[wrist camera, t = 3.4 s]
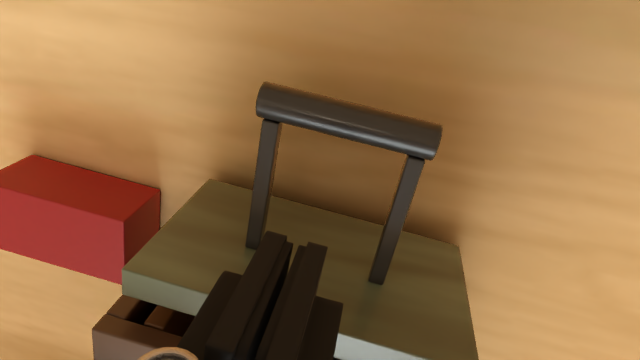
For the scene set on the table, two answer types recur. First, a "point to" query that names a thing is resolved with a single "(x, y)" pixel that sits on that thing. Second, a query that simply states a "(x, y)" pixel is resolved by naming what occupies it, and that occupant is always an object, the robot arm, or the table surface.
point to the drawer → (319, 242)
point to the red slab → (75, 216)
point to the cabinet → (128, 332)
